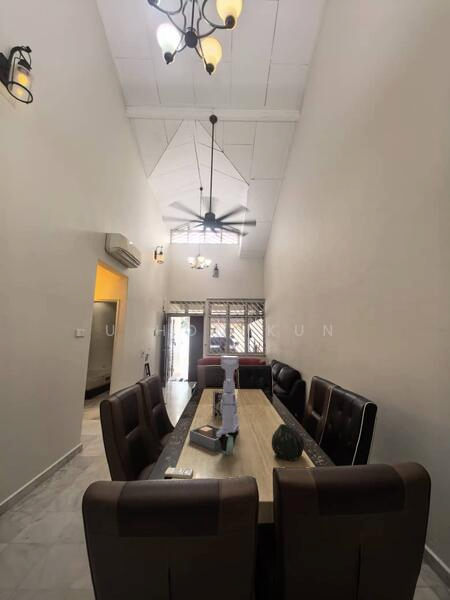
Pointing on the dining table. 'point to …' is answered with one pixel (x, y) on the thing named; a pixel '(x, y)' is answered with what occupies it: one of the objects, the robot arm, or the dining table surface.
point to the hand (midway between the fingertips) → (227, 448)
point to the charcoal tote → (206, 438)
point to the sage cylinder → (229, 446)
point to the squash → (287, 443)
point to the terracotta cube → (206, 431)
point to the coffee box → (217, 404)
